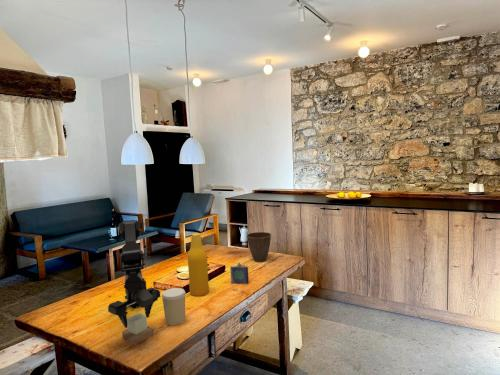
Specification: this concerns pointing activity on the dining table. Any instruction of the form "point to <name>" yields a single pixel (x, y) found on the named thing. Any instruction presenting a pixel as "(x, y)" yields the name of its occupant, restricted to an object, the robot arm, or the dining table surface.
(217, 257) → the dining table surface
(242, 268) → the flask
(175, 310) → the coffee cup
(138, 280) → the robot arm
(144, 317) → the cube
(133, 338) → the base
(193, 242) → the beer bottle
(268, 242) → the plant pot
